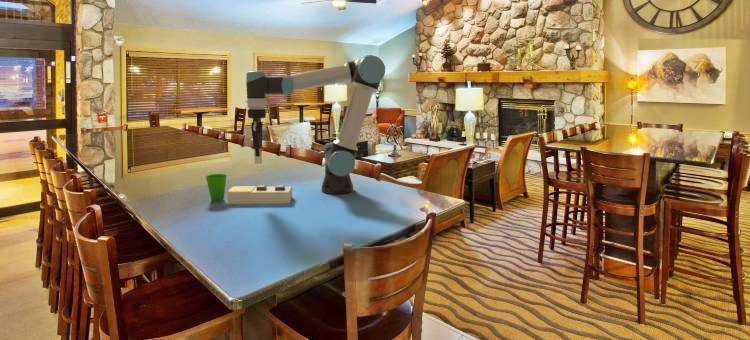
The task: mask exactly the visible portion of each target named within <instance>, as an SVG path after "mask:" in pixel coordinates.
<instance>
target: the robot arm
mask: <svg viewBox="0 0 750 340" xmlns="http://www.w3.org/2000/svg"><path fill="white" fill-rule="evenodd" d="M385 74H386V66H385V63H384V61H383V60H382V59H381V58H380V57H378V56H376V55H374V54H368V55H365V56H363V57H360V58H358V59H355V60H351V61H346V62H345V64H344V65H343V64H342V65H336V66H330V67H325V68H320V69H314V70H309V71H308V70H307V71H303V72H297V73H292V74H286V75H279V76H275V75H274V76H272V75H271V76H268V75H266V74H265V72H264V71H261V70H260V71H259V70H258V71H255V70H254V71H253V70H251V71H247V73H246V78H245V79H246V81H245V82H246V83H245V84H246V101H245V103H247V105H246V106H247V109H246V110H247V118H248V119H252V122H251V127H250V128H251V135H252V136H251V137H252V149H253V150H254V151H253V152H254V164H255V165H258V164H259V165H261V164H262V163H263V157H262V156H263V153H262V151H263V150H262V149H264V146H263V126H264V124H263V123H264V122H263V121H262V119H265V118H267V110H266V109H265V108H267V102H266V101H267V100H266V95H285V96H287V95H293V94H294V92H296V91H304V90H308V89H312V88H319V87H324V86H330V85H331V86H332V85H336V84H341V83H342V84H343V83H349V84H352V85H353V90H352V92H351V95H350V99H349V101H348V105H347V109H346V111H345V115H344V118H343V120H342V123H341V124H342V125H341V127H340V130H339V133H338V136H337V139H335V140H333V142H332V143H330V142H329V143H325V145H324V149H323V150H324V177H323V181H322V184H321V192H322V193H325V194H330V195H341V194H342V195H345V194H349V193H352V192H353V191H354V184H353V181H352V178H351V173H352V172H353V171H354V169H355V166H356V157H357V155H358V151H359V148H358V146H357V144H358V140H359V137H360V134H361V130H362V128H363V126H364V125H363V124H364V121H365V118H366V115H367V113H368V109H369V105H370V103H371V100H372V96H373V94H374V93H375V92H377V91H378V90H379V86H380V84H381V81H382V80H383V78H384V77H385Z"/></svg>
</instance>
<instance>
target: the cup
mask: <svg viewBox="0 0 750 340" xmlns="http://www.w3.org/2000/svg"><path fill="white" fill-rule="evenodd" d="M227 176H228V175H227V174H225V173H212V174H206V175H205V178H206V182H207V188H208V191H209V195H210V200H211V202H215V203H216V202H223V201H224V199H225V192H226V190H225V189H226V182H227Z"/></svg>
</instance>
